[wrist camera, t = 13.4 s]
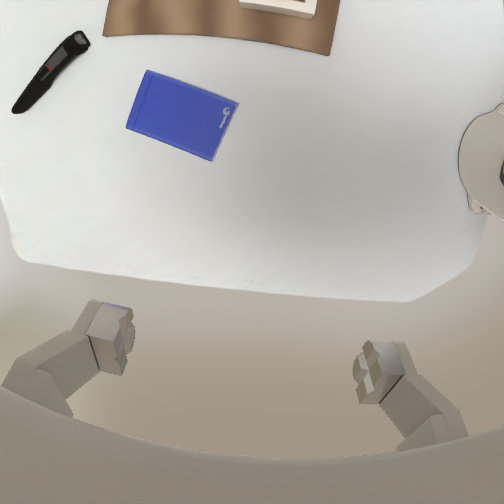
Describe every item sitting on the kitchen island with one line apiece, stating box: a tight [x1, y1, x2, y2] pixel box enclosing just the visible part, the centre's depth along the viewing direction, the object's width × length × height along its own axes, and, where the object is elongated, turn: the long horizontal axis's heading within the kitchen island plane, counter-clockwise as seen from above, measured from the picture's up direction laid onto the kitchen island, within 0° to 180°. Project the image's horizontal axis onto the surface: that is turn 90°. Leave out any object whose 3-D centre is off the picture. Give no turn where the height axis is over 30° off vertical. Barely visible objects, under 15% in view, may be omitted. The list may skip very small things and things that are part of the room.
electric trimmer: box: [12, 31, 90, 114], centre depth 29 cm, size 4×16×3 cm, turn 120°
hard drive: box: [126, 70, 239, 162], centre depth 34 cm, size 2×8×12 cm
